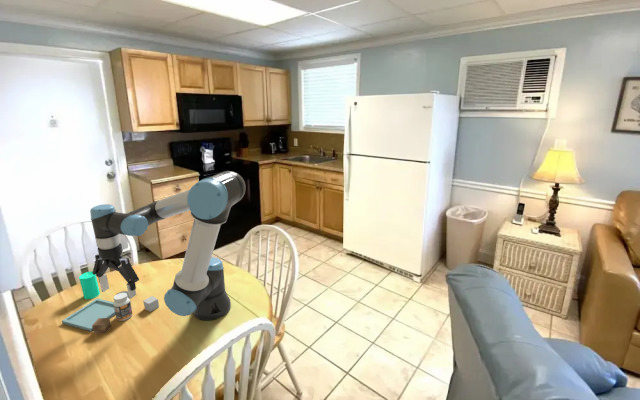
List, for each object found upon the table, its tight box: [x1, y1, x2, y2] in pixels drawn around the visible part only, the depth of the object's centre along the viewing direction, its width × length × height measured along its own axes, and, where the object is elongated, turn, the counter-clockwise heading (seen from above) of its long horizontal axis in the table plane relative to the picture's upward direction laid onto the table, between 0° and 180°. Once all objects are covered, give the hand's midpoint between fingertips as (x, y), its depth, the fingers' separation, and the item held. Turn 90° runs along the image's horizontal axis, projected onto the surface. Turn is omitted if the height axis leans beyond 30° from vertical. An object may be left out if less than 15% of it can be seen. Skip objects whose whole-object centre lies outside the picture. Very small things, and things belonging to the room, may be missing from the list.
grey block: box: [143, 295, 160, 313], centre depth 132 cm, size 4×4×4 cm
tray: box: [61, 297, 116, 332], centre depth 127 cm, size 15×15×2 cm
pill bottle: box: [113, 292, 133, 322], centre depth 125 cm, size 6×6×10 cm
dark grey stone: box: [115, 290, 129, 298], centre depth 137 cm, size 5×5×3 cm
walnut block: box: [92, 318, 112, 335], centre depth 119 cm, size 4×4×4 cm
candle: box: [78, 271, 101, 300], centre depth 138 cm, size 6×6×12 cm
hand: (119, 293), depth 123 cm, fingers open, 13 cm apart
